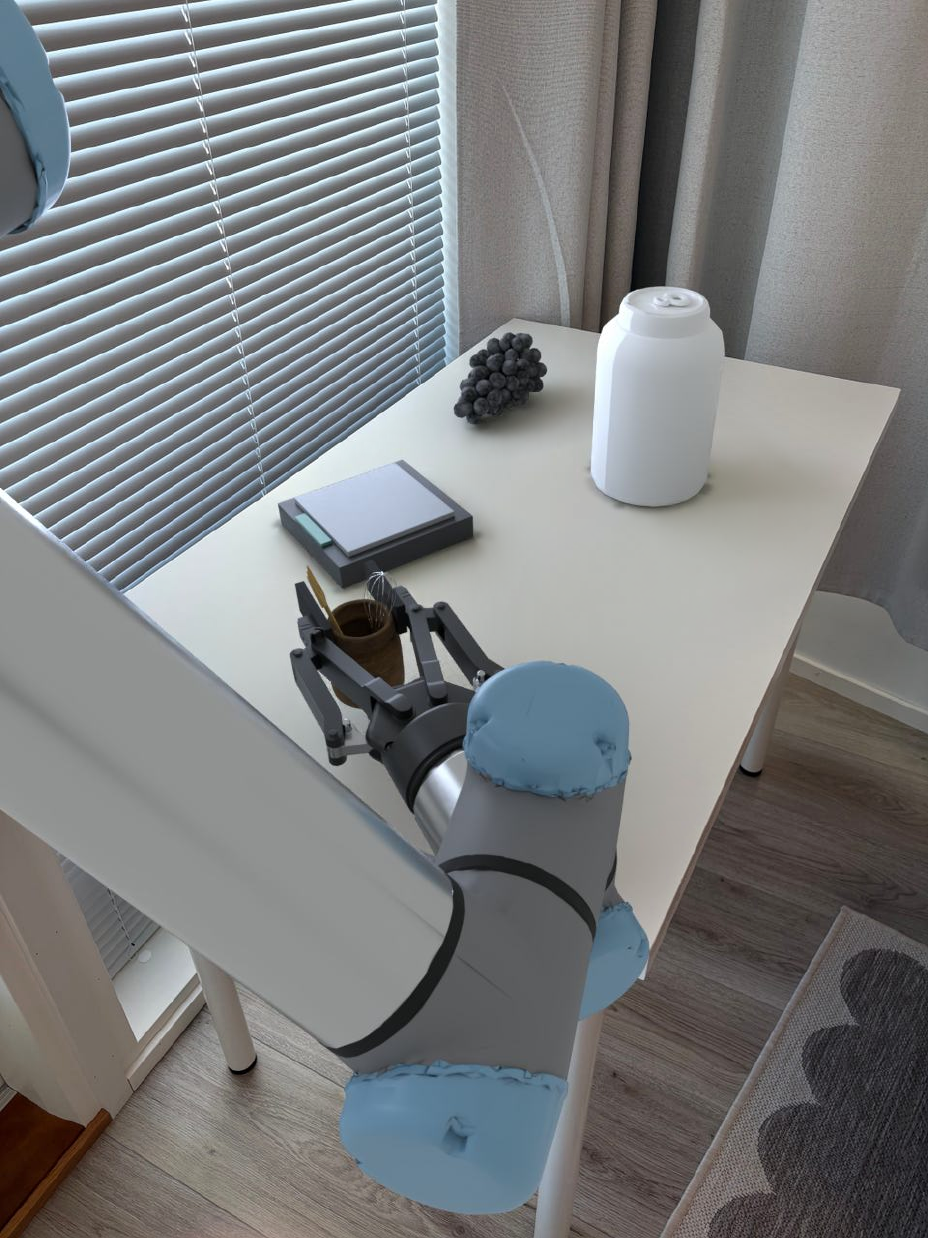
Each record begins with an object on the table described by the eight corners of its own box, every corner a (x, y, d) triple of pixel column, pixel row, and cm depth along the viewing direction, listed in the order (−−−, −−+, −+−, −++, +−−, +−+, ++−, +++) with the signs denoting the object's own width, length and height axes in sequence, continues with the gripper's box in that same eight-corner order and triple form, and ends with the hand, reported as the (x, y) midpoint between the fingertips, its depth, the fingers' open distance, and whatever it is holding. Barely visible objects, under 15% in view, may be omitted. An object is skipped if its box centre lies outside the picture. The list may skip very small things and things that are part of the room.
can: (674, 442, 110) (695, 268, 97) (727, 497, 100) (757, 312, 88) (573, 461, 107) (580, 285, 95) (617, 519, 98) (632, 331, 85)
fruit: (467, 366, 107) (547, 319, 115) (417, 370, 112) (497, 326, 121) (488, 437, 110) (564, 388, 119) (439, 438, 116) (515, 391, 125)
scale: (342, 589, 90) (338, 562, 88) (281, 523, 100) (276, 498, 98) (473, 536, 96) (472, 510, 94) (404, 479, 106) (402, 454, 104)
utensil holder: (410, 706, 74) (397, 584, 66) (330, 717, 73) (307, 595, 66) (402, 657, 79) (389, 537, 71) (326, 667, 78) (305, 547, 70)
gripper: (334, 877, 59) (233, 656, 75) (586, 773, 64) (441, 589, 81) (319, 797, 54) (215, 580, 70) (592, 693, 60) (437, 515, 76)
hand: (336, 585), depth 75 cm, fingers closed on utensil holder, 5 cm apart
